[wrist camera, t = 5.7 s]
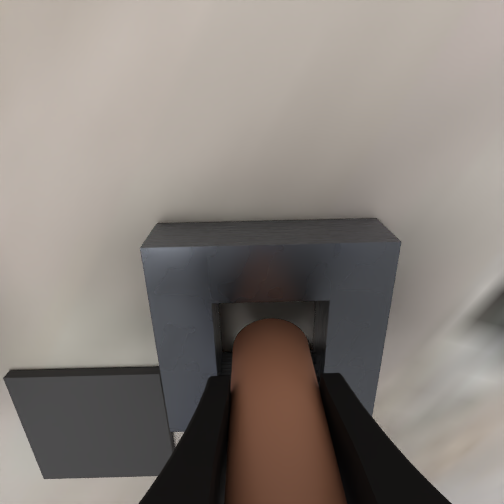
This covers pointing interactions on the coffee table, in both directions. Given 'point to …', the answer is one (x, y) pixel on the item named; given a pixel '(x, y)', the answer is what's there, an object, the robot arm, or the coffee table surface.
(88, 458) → the mat
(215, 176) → the coffee table surface
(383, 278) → the chuck plate
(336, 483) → the cylinder
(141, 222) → the coffee table surface
